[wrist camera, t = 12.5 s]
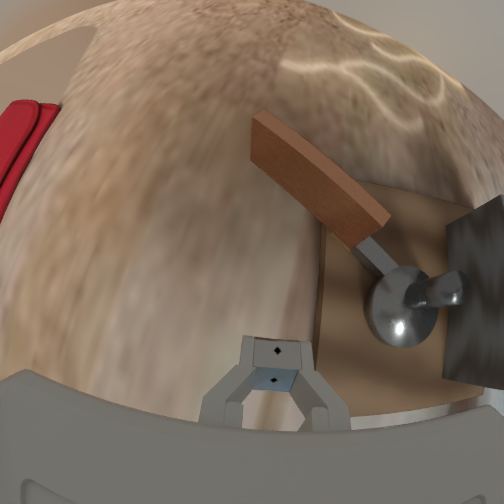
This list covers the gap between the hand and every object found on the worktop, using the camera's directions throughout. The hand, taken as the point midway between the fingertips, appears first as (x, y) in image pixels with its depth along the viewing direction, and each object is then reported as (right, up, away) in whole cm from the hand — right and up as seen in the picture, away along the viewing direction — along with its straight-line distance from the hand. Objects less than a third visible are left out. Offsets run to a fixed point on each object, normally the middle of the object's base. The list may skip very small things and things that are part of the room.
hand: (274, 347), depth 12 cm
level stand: (+16, -1, +13) cm, 21 cm away
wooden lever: (+7, +5, +12) cm, 14 cm away
